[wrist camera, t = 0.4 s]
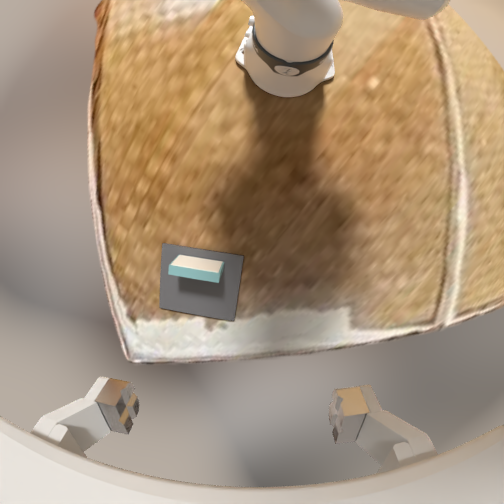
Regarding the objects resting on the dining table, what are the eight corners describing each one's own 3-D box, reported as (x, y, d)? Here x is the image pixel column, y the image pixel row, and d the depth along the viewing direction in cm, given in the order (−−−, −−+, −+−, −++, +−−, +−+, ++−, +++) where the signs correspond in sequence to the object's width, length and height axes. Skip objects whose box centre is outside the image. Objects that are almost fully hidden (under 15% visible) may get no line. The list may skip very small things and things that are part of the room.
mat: (163, 243, 54) (162, 243, 53) (243, 255, 54) (243, 256, 54) (160, 306, 58) (159, 307, 57) (234, 319, 58) (234, 320, 57)
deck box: (178, 253, 54) (168, 264, 47) (224, 261, 54) (219, 272, 48) (178, 263, 54) (168, 274, 48) (223, 270, 54) (218, 282, 48)
